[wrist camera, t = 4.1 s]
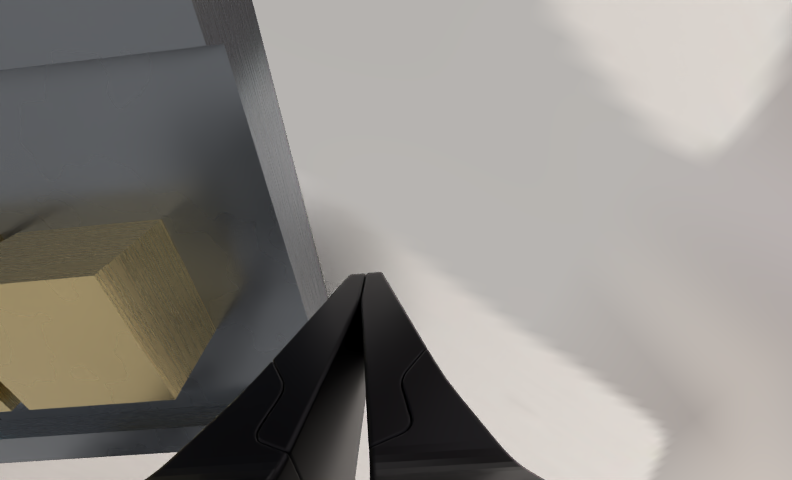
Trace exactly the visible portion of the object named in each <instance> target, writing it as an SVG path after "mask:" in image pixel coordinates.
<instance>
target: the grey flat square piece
mask: <svg viewBox="0 0 792 480" xmlns="http://www.w3.org/2000/svg"><path fill="white" fill-rule="evenodd" d="M155 219H162V220H163V222H164V224H165V226H166V228H167V230H168V232H169V234H170V236H171V238H172V240H173V242H174V244H175V246H176V249H177V251H178V253H179V255H180V257H181V259H182V261H183V263H184V265H185V267H186V269H187V271H188V273H189V275H190V277H191V279H192V281H193V283H194V285H195V287H196V289H197V291H198V293H199V295H200V298H201V300H202V302H203V304H204V306H205V308H206V310H207V312H208V314H209V316H210V318H211V320H212V322H213V324H214V326H215V328H216V331H215V333H214V334H213V336H212V338H211V339H210V341H209V343H208V345H207V346H206V348H205V350H204V351H203V353H202V355H201V357H200V358H199V360H198V362H197V363H196V365H195V367H194V369H193V370H192V372H191V374H190V375H189V377H188V379H187V381H186V382H185V384H184V386H183V387H182V389H181V391H180V393H179V394H178V396H177V398H176V399H175V400H163V401H148V402H134V403H120V404H106V405H92V406H78V407H63V408H49V409H35V410H29V409H28V408H27V407H26V406H25V405H24V404H23V403H22V402H20V403H19V404H18V405H17V406H16V407H15V408H14V409H13V410H12V411H7V412H0V463H12V462H27V461H43V460H59V459H75V458H90V457H106V456H122V455H138V454H153V453H169V452H179V451H180V450H181V449H182V448H183V447H184V446H185V445H187V444H188V443H189V442H190V441H191V440H192V439H193V438H194V437H195V436H196V435H197V434H198V433H199V432H201V431H202V430H203V429H204V428H205V427H206V426H207V425H208V424H209V423H210V422H211V421H212V420H214V419H215V418H216V417H217V416H218V415H219V414H220V413H221V412H222V411H223V410H224V409H225V408H226V407H227V406H228V405H229V404H231V403H232V402H233V401H234V400H235V399H236V398H237V397H238V396H239V395H240V394H241V393H242V392H243V391H244V390H245V389H246V388H247V387H248V386H249V385H250V384H251V383H252V382H253V380H254V379H255V378H256V377H257V376H258V375H259V374H260V373H261V372H262V371H263V370H264V369H265V368H266V367H267V365H268V364H269V363H270V362H273V359H274V358H275V357H276V356H277V355H278V353H279V352H280V351H281V350H282V349H283V348H284V347H285V346H286V345H287V344H288V342H289V341H290V340H291V339H292V338H293V337H294V336H295V335H296V334H297V333H298V331H299V330H300V329H301V328H302V327H303V326H304V325H305V324H306V323H307V322H308V320H309V319H310V318H311V317H312V316H313V315H314V314H315V313H316V312H317V311H318V309H319V308H320V307H321V306H322V305H323V304H324V303H325V302H326V301H327V299H328V296H327V292H326V288H325V284H324V280H323V276H322V272H321V268H320V264H319V260H318V257H317V253H316V249H315V245H314V241H313V237H312V233H311V229H310V225H309V221H308V217H307V213H306V210H305V206H304V202H303V198H302V194H301V190H300V186H299V182H298V178H297V174H296V170H295V167H294V163H293V159H292V155H291V151H290V147H289V143H288V140H287V135H286V131H285V128H284V123H283V120H282V116H281V112H280V108H279V105H278V100H277V96H276V92H275V88H274V84H273V80H272V77H271V73H270V69H269V65H268V61H267V57H266V53H265V50H264V46H263V41H262V37H261V34H260V30H259V26H258V22H257V18H256V14H255V10H254V6H253V3H252V0H0V235H1V236H2V237H3V239H4V240H5V239H7V238H9V237H11V236H13V235H14V234H16V233H19V232H29V231H39V230H50V229H60V228H71V227H81V226H92V225H102V224H113V223H123V222H134V221H144V220H155Z"/></svg>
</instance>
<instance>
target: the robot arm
mask: <svg viewBox="0 0 792 480" xmlns="http://www.w3.org/2000/svg"><path fill="white" fill-rule="evenodd" d="M365 399H366V407H367V424H368V441H369V450H370V451H369V458H370V480H544V479H542V478H541V477H539V476H537V475H536V474H534V473H532V472H531V471H529V470H527V469H526V468H524V467H523V466H522V465H520V464H519V463H518V462H516V461H515V460H514V459H513V458H512V457H511V456H510V455H509V454H508V453H507V452H506V451H505V450H504V449H503V448H502V446H501V445H500V444H499V443H498V442H497V441H496V439H495V438H494V437H493V436H492V435H491V433H490V432H489V431H488V430H487V429H486V427H485V426H484V425H483V424H482V422H481V421H480V420H479V419H478V418H477V416H476V415H475V414H474V413H473V412H472V410H471V409H470V408H469V407H468V405H467V404H466V403H465V402H464V401H463V399H462V398H461V397H460V396H459V394H458V393H457V392H456V390H455V389H454V388H453V387H452V385H451V384H450V383H449V381H448V380H447V379H446V377H445V376H444V374H443V373H442V371H441V370H440V368H439V367H438V365H437V364H436V362H435V360H434V359H433V357H432V355H431V354H430V352H429V351H428V350H427V347H426V346H425V344H424V342H423V341H422V339H421V337H420V335H419V334H418V332H417V330H416V329H415V327H414V325H413V324H412V322H411V320H410V319H409V317H408V315H407V314H406V312H405V310H404V309H403V307H402V305H401V304H400V302H399V300H398V298H397V297H396V295H395V293H394V292H393V290H392V288H391V287H390V285H389V283H388V282H387V280H386V278H385V277H384V275H383V273H381V272H376V273H368V274H366V275H365V274H352V275H350V276H348V277H347V279H346V280H345V281H344V282H343V283H342V284H341V285H340V286H339V287H338V288H337V290H336V291H335V292H334V293H333V294H332V295H331V296H330V297H329V298H328V299H327V301H326V302H325V303H324V304H323V305H322V306H321V307H320V308H319V309H318V311H317V312H316V313H315V314H314V315H313V316H312V317H311V318H310V319H309V320H308V322H307V323H306V324H305V325H304V326H303V327H302V328H301V329H300V330H299V331H298V333H297V334H296V335H295V336H294V337H293V338H292V339H291V340H290V341H289V342H288V344H287V345H286V346H285V347H284V348H283V349H282V350H281V351H280V352H279V353H278V355H277V356H276V357H275V358H274V359H273V362H270V363H269V364H268V365H267V367H266V368H265V369H264V370H263V371H262V372H261V373H260V374H259V375H258V376H257V377H256V378H255V379H254V380H253V382H252V383H251V384H250V385H249V386H248V387H247V388H246V389H245V390H244V391H243V392H242V393H241V394H240V395H239V396H238V397H237V398H236V399H235V400H234V401H233V402H232V403H231V404H229V405H228V406H227V407H226V408H225V409H224V410H223V411H222V412H221V413H220V414H219V415H218V416H217V417H216V418H215V419H214V420H212V421H211V422H210V423H209V424H208V425H207V426H206V427H205V428H204V429H203V430H202V431H201V432H199V433H198V434H197V435H196V436H195V437H194V438H193V439H192V440H191V441H190V442H189V443H188V444H187V445H185V446H184V447H183V448H182V449H181V450H180V451H179V452H178V453H177V454H176V455H175V456H174V457H172V458H171V459H170V460H169V461H168V462H167V463H166V464H165V465H163V466H162V467H161V468H160V469H159V470H157V471H156V472H155V473H153V474H152V475H151V476H150V477H148V478H147V479H145V480H355V474H356V467H357V459H358V452H359V444H360V436H361V429H362V421H363V414H364V406H365Z"/></svg>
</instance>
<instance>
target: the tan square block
mask: <svg viewBox="0 0 792 480" xmlns="http://www.w3.org/2000/svg"><path fill="white" fill-rule="evenodd" d="M215 331H216V328H215V326H214V324H213V322H212V320H211V318H210V316H209V314H208V312H207V310H206V308H205V306H204V304H203V302H202V300H201V298H200V295H199V293H198V291H197V289H196V287H195V285H194V283H193V281H192V279H191V277H190V275H189V273H188V271H187V269H186V267H185V265H184V263H183V261H182V259H181V257H180V255H179V253H178V251H177V249H176V246H175V244H174V242H173V240H172V238H171V236H170V234H169V232H168V230H167V228H166V226H165V224H164V222H163V220H162V219H155V220H144V221H134V222H123V223H113V224H102V225H92V226H81V227H71V228H60V229H50V230H39V231H29V232H19V233H16V234H14V235H13V236H11V237H9V238H7V239H5V240H3V241H2V242H0V381H1V382H2V383H3V384H4V385H5V386H6V387H7V388H8V389H9V390H10V391H11V392H12V393H13V394H14V395H15V396H16V397H17V398H18V399H19V400H20V401H21V402H22V403H23V404H24V405H25V406H26V407H27V408H28V409H29V410H35V409H49V408H63V407H78V406H92V405H106V404H120V403H134V402H148V401H163V400H175V399H176V398H177V396H178V394H179V393H180V391H181V389H182V387H183V386H184V384H185V382H186V381H187V379H188V377H189V375H190V374H191V372H192V370H193V369H194V367H195V365H196V363H197V362H198V360H199V358H200V357H201V355H202V353H203V351H204V350H205V348H206V346H207V345H208V343H209V341H210V339H211V338H212V336H213V334H214V333H215Z"/></svg>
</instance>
